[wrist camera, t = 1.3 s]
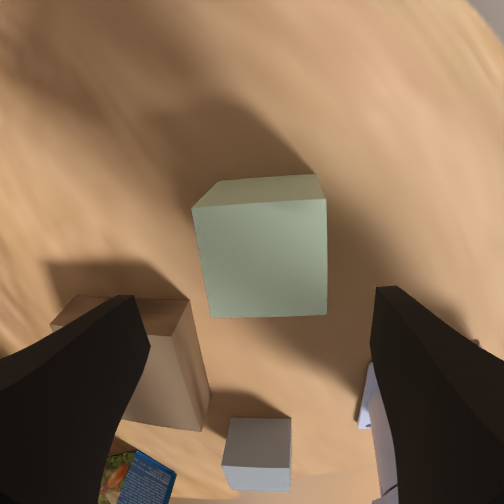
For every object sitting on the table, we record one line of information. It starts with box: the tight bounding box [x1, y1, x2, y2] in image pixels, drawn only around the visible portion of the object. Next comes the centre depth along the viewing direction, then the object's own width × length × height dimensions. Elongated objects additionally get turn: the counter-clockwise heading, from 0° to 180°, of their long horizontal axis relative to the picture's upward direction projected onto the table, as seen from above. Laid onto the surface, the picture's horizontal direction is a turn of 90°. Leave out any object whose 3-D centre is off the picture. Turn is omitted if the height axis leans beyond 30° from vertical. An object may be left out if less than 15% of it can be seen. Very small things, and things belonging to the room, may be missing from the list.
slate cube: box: [221, 417, 292, 492], centre depth 23 cm, size 5×5×5 cm
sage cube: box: [191, 174, 327, 318], centre depth 15 cm, size 5×5×5 cm
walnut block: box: [50, 296, 211, 432], centre depth 21 cm, size 9×9×4 cm
